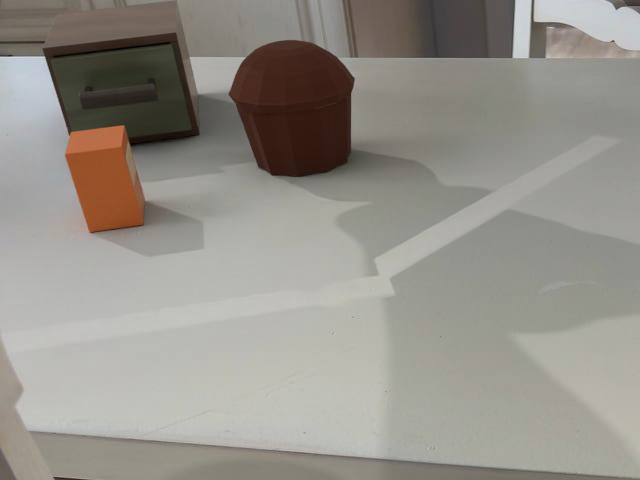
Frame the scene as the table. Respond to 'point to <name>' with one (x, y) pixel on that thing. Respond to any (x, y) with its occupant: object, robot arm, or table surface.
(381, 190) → the table surface
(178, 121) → the drawer
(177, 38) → the cabinet
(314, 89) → the muffin
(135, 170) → the orange block
